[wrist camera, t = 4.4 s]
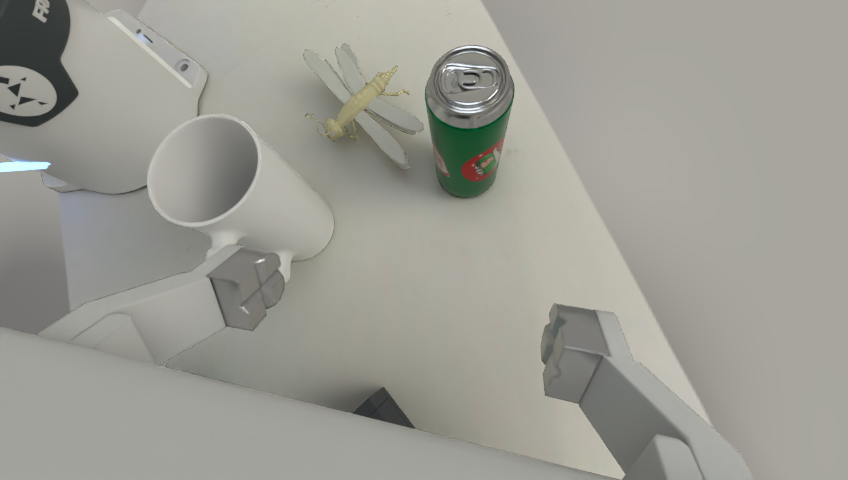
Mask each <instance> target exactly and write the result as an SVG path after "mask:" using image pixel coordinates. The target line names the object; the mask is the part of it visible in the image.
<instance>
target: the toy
mask: <svg viewBox="0 0 848 480" xmlns="http://www.w3.org/2000/svg"><path fill="white" fill-rule="evenodd" d="M335 54H336V57H337V60H338V64H339V67H340V69H341V72H342V74H343V76H344V79H345V81H346V82H347V84H348V86H349V88H350V90H351V91H352V93H353V94H354V95H353V96H352V95H351V94H350V92H349V91H348V89H347V88H346V86H345V84H344V83H343V81H342V80H341V78H340V77H339V76H338V74H337V73H336V71H335V70H334V69H333V67H332V66H331V65H330V64H329V63H328V61H327V60H323V59H322V58H321V57H320V56H319V55H318V54H317V53H315V52H314V51H310V50H305V51H304V52H303V56H304V59H305V61H306V62H307V64H308V65H309V67H310V68H311V69H312V70H313V72H314V73H315V74H316V75H317V76H318V77H319V78H320V79H321V80H322V81H323V82H324V83H325V85H326V86H327V87H328V88H329V89H330V90H331V91H332V92H333V93H334V94H335V95H336V97H337V98H338V99H339V100H340V101H341V103H342V104H343V105H344V106H343V108H342V109H341V111H340V113H339V115H338V117H337V119H336V120H334V119H330V118H327V119H326V122H325V124H323V125H324V129H325V130H326V133H327V134H325V136H326V135H327V136H328V137H329V138H330V139H332V140H333V142H334V141H335V139H336V138H339V137H343V135H344V131H343V128H342V127H344V129H345V132H348V130H347V129H346V127H345V126H346V125H348V124H350V123H352V124H353V128H354V132H355V137H354V136H352V135H351V134H350V135H349V136H350V138H353V139H355V140H356V141H357V139H358V136H357V131H356V127H355V124H354V121H355V120H356V121H357V122H358V123H359V124H360V125H361V126H362V128H363V129H364V130H365V131H366V132H367V133H368V134H369V136H370V137H371V138H372V139H373V140H374V141H375V142H376V143H377V145H378V146H379V147H380V148H381V149H382V150H383V151H384V152H385V153H386V155H387V156H388V157H389V158H390V159H391V160H392V161H393V162H394V163H395V164H396V165H397V166H398V167H400V168H402V169H404V170H407V169H408V168H409V167H410V165H409V160H408V157H407V155H406V153H405V152H404V151H403V148H402V147H401V146H400V145H399V143H398V142H397V141H396V140H395V139H394V138H393V137H392V136H391V135H390V133H388V132H387V131H386V130H385V129H384V128H383V127H382V126H381V125H379V124H378V123H377V122H376V121H375V120H374V119H373V118H372V117H370V116H369V115H368V114H367V113H366V111H368V112H369V113H371V114H373V115H374V116H376V117H377V118H379V119H380V120H381V121H383V122H384V123H386V124H387V125H389V126H392V127H394V128H396V129H398V130H400V131H402V132H404V133H407V134H412V135H414V134H416V132H420V131H422V130H423V128H424V127H423V124H422V123H421V122H420V121H419V119H418V118H416V117H415V116H414V115H413V114H411V113H409V112H406V111H404V110H402V109H400V108H398V107H396V106H393V105H391V104H389V103H387V102H385V101H383V100H381V99H379V98H377V97H378V96H379V95H390V96H398V95H399V94H401V93H402V92H406V93H407V94H408V95H409V94H410V93H409V91H407V90H403V89H402V90H401V91H399V92H398V93H397V94H395V93H383V92H382V91H384V90H385V86H386V85H388V82H389V80H390V78H391V77H392V74H393V73H394V72H396V71H397V68H398V66H395V67H394V68H393V69H392V70H391V71H390V72H387V73H385V74H384V73H380V72H379V73H378V74H377V76H376V77H375V78H373V81H370V82H369V84H368V83H367V82H365V81H364V79H363V76H362V73H361V70H360V67H359V65H358V62H357V59H356V56H355V54H354V52H353V50H352V49H351V48H350V46H349V45H348V44H346V43H344V44H342V46H341V49H340V48H337V47H336V49H335ZM306 115H314V114H306ZM306 115H305V116H306ZM306 117H307V116H306ZM307 118H309V117H307ZM310 118H311V117H310ZM311 119H313V118H311ZM314 120H315V119H314ZM316 121H317V120H316ZM318 122H319V121H317V123H318ZM319 123H321V122H319ZM321 124H322V123H321ZM317 127H318V125H317ZM318 132H319V129H318ZM319 134H320V132H319ZM320 135H322V134H320ZM322 136H324V135H322Z"/></svg>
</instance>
